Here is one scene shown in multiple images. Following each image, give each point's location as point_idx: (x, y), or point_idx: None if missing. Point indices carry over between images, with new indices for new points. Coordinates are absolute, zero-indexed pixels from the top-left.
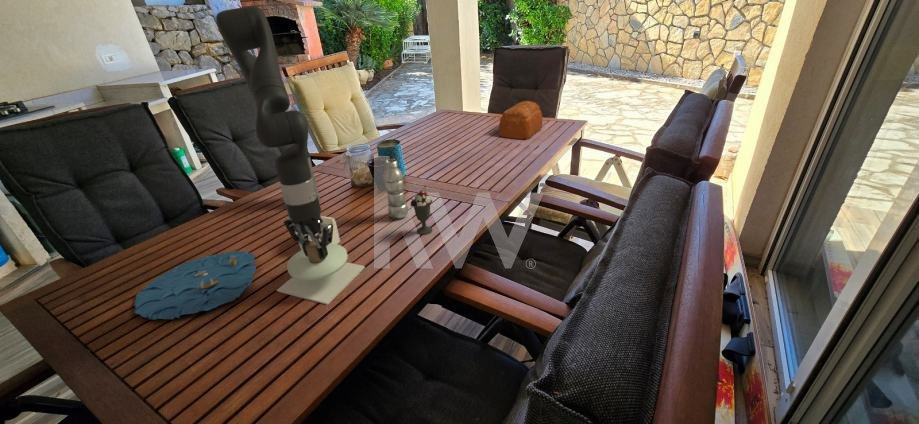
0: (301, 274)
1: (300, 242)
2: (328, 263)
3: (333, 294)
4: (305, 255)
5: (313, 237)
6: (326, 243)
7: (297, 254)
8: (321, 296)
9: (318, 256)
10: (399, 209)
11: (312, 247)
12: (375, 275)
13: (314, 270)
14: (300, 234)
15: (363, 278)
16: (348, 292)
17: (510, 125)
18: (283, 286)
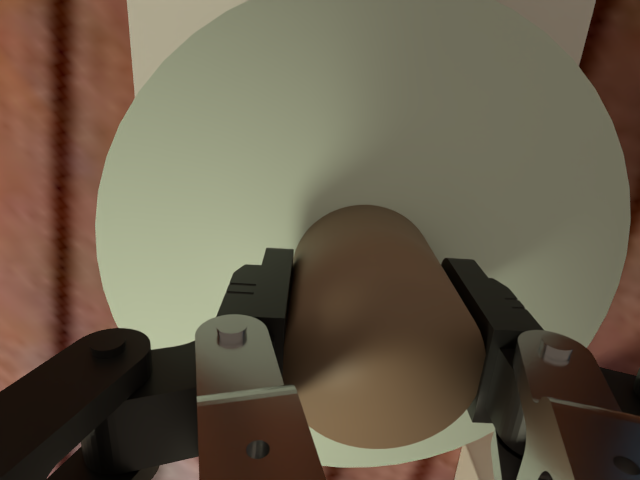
0: (365, 12)
1: (562, 346)
2: (219, 240)
3: (149, 62)
4: (473, 260)
5: (220, 440)
6: (28, 380)
7: (590, 286)
8: (215, 16)
9: (301, 261)
10: None
11: (356, 316)
12: (49, 307)
13: (275, 111)
14: (594, 466)
15: (97, 267)
16: (88, 123)
17: None
18: (566, 45)
